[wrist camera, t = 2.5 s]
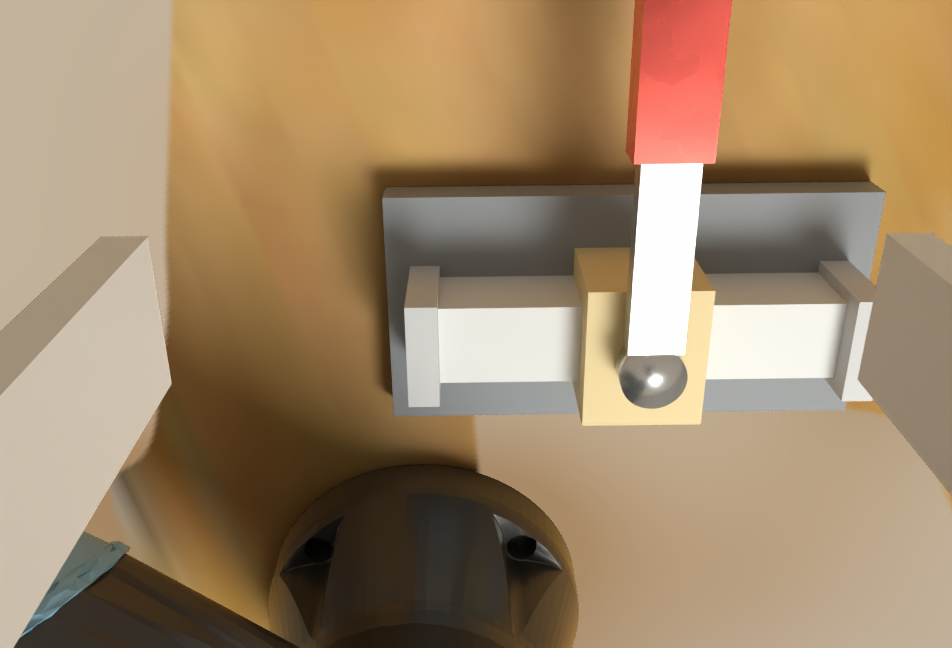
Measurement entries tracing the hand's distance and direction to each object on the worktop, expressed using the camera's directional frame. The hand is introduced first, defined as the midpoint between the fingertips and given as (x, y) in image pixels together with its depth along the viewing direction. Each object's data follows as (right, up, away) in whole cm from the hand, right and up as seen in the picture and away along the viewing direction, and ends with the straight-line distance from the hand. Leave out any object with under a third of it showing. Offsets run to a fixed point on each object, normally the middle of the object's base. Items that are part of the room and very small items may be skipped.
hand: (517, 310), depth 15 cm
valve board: (+6, +1, +24) cm, 25 cm away
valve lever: (+6, +4, +16) cm, 17 cm away
